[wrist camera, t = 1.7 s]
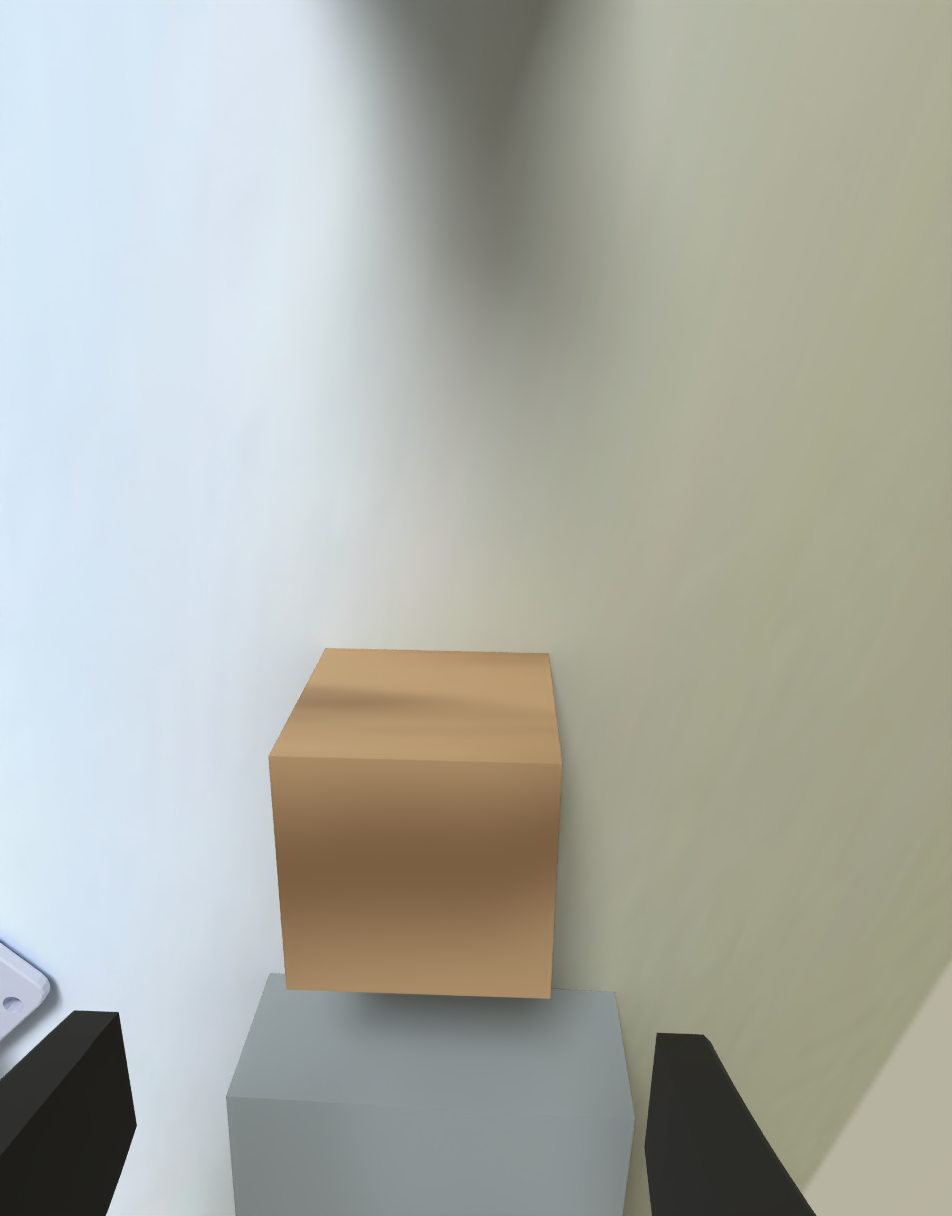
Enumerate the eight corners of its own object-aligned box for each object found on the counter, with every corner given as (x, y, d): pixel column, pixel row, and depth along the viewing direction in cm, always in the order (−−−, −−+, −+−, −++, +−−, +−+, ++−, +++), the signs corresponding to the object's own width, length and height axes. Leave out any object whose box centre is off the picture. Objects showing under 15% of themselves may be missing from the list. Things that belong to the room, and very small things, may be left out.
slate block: (586, 1223, 25) (599, 1383, 22) (285, 1205, 26) (247, 1361, 22) (613, 983, 22) (635, 1119, 19) (272, 964, 23) (226, 1095, 19)
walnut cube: (540, 842, 21) (550, 998, 16) (336, 836, 21) (286, 989, 16) (548, 652, 19) (562, 764, 14) (326, 646, 19) (268, 756, 15)
